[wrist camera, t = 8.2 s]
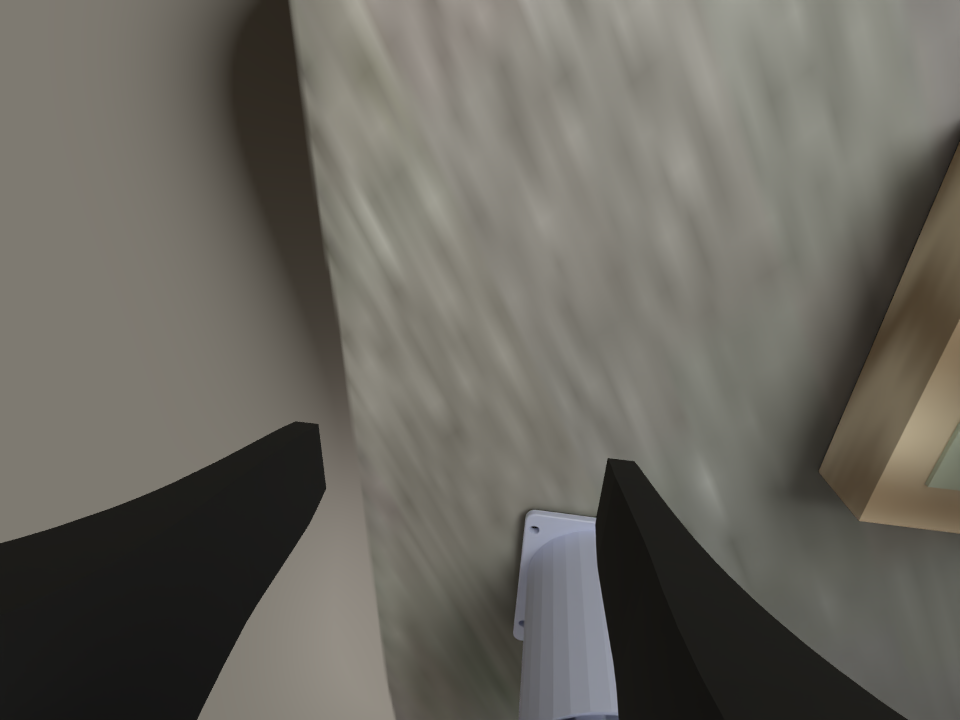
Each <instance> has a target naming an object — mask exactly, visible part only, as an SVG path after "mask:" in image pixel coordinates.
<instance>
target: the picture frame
mask: <svg viewBox="0 0 960 720" xmlns="http://www.w3.org/2000/svg"><path fill="white" fill-rule="evenodd" d="M818 472H819V473H820V474H821V476H822V477H823V478H824V479H825V480H826V482H827V483H828V484H829V485H830V486H831V488H832V489H833V490H834V491H835V493H836V494H837V495H838V496H839V497H840V499H841V500H842V501H843V502H844V504H845V505H846V506H847V507H848V508H849V510H850V511H851V512H852V513H853V514H854V516H855V517H856V518H857V519H858V521H864V522H872V523H880V524H888V525H896V526H904V527H912V528H920V529H928V530H936V531H944V532H952V533H960V142H959V145H958V147H957V149H956V152H955V154H954V156H953V159H952V161H951V163H950V166H949V168H948V170H947V173H946V175H945V177H944V180H943V182H942V184H941V187H940V189H939V191H938V194H937V196H936V198H935V201H934V203H933V205H932V208H931V210H930V212H929V215H928V217H927V219H926V222H925V224H924V226H923V229H922V231H921V233H920V236H919V238H918V240H917V243H916V245H915V247H914V250H913V252H912V254H911V257H910V259H909V261H908V264H907V266H906V268H905V271H904V273H903V275H902V278H901V280H900V282H899V285H898V287H897V289H896V292H895V294H894V296H893V299H892V301H891V303H890V306H889V308H888V310H887V313H886V315H885V317H884V320H883V322H882V324H881V327H880V329H879V331H878V334H877V336H876V338H875V341H874V343H873V345H872V348H871V350H870V352H869V355H868V357H867V359H866V362H865V364H864V366H863V369H862V371H861V373H860V376H859V378H858V380H857V383H856V385H855V387H854V390H853V392H852V394H851V397H850V399H849V401H848V404H847V406H846V408H845V411H844V413H843V415H842V418H841V420H840V422H839V425H838V427H837V429H836V432H835V434H834V436H833V439H832V441H831V443H830V446H829V448H828V450H827V453H826V455H825V457H824V460H823V462H822V464H821V467H820V469H819V471H818Z"/></svg>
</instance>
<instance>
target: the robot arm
mask: <svg viewBox="0 0 960 720" xmlns="http://www.w3.org/2000/svg"><path fill="white" fill-rule="evenodd" d="M325 490H326V483H325V475H324V467H323V459H322V450H321V443H320V434H319V426H318V424H313V423H304V422H293V423H291V424H289V425H287V426H284V427H282V428H280V429H278V430H276V431H274V432H272V433H271V434H269V435H267V436H265V437H263V438H261V439H259V440H257V441H255V442H253V443H252V444H250V445H248V446H246V447H244V448H242V449H240V450H238V451H236V452H235V453H233V454H231V455H229V456H227V457H225V458H223V459H221V460H219V461H217V462H215V463H213V464H211V465H209V466H207V467H205V468H203V469H201V470H199V471H197V472H194V473H192V474H190V475H189V476H186V477H184V478H182V479H180V480H178V481H176V482H174V483H172V484H169V485H167V486H165V487H163V488H160V489H158V490H156V491H153V492H151V493H149V494H146V495H144V496H141V497H139V498H136V499H134V500H131V501H129V502H126V503H124V504H121V505H119V506H116V507H113V508H110V509H108V510H105V511H102V512H99V513H96V514H93V515H90V516H87V517H84V518H81V519H78V520H75V521H73V522H70V523H67V524H64V525H61V526H58V527H55V528H52V529H49V530H45V531H42V532H39V533H35V534H32V535H28V536H25V537H22V538H18V539H15V540H11V541H7V542H4V543H0V720H197V719H198V716H199V714H200V712H201V710H202V708H203V706H204V704H205V702H206V700H207V698H208V696H209V694H210V692H211V690H212V688H213V686H214V684H215V682H216V680H217V678H218V676H219V674H220V672H221V670H222V668H223V666H224V664H225V662H226V660H227V658H228V656H229V654H230V652H231V650H232V649H233V647H234V645H235V643H236V641H237V639H238V637H239V635H240V633H241V631H242V629H243V628H244V626H245V624H246V622H247V620H248V619H249V617H250V615H251V614H252V612H253V610H254V609H255V607H256V605H257V604H258V602H259V601H260V599H261V598H262V596H263V595H264V593H265V592H266V590H267V588H268V587H269V585H270V584H271V582H272V580H273V579H274V578H275V576H276V575H277V573H278V572H279V570H280V569H281V567H282V566H283V564H284V562H285V561H286V559H287V558H288V556H289V554H290V553H291V552H292V550H293V549H294V547H295V546H296V544H297V542H298V541H299V539H300V538H301V536H302V535H303V533H304V532H305V530H306V528H307V526H308V525H309V524H310V521H311V519H312V517H313V515H314V513H315V511H316V509H317V507H318V505H319V503H320V501H321V499H322V496H323V494H324V492H325ZM532 526H536V527H538V528H532ZM513 636H514V637H515V638H516V639H518V640H521V641H523V654H522V670H521V687H520V704H519V720H908V719H906V718H905V717H903V716H902V715H900V714H899V713H897V712H896V711H894V710H893V709H891V708H890V707H888V706H887V705H885V704H884V703H883V702H881V701H880V700H878V699H877V698H876V697H874V696H873V695H872V694H870V693H869V692H867V691H866V690H865V689H863V688H862V687H861V686H859V685H858V684H857V683H855V682H854V681H853V680H851V679H850V678H849V677H847V676H846V675H845V674H843V673H842V672H841V671H839V670H838V669H836V668H835V667H834V666H833V665H831V664H830V663H829V662H827V661H826V660H825V659H824V658H822V657H821V656H820V655H819V654H817V653H816V652H815V651H813V650H812V649H811V648H810V647H808V646H807V645H806V644H805V643H804V642H802V641H801V640H800V639H799V638H798V637H796V636H795V635H794V634H793V633H792V632H790V631H789V630H788V629H787V628H786V627H785V626H783V625H782V624H781V623H780V622H779V621H777V620H776V619H775V618H774V617H773V616H772V615H770V614H769V613H768V612H767V611H766V610H765V609H764V608H763V607H761V606H760V605H759V604H758V603H757V602H756V601H755V600H754V599H753V598H752V597H751V596H750V595H749V594H748V593H747V592H745V591H744V590H743V589H742V588H741V587H740V586H739V585H738V584H737V583H736V582H735V581H734V580H733V579H732V578H731V577H730V576H729V575H728V574H727V573H726V572H725V571H724V570H723V569H722V568H721V567H720V566H719V565H718V564H717V563H716V562H715V561H714V560H713V559H712V558H711V556H710V555H709V554H708V553H707V552H706V551H705V550H704V549H703V548H702V547H701V545H700V544H699V543H698V542H697V541H696V540H695V539H694V538H693V536H692V535H691V534H690V533H689V532H688V530H687V529H686V528H685V527H684V525H683V524H682V523H681V522H680V521H679V519H678V518H677V517H676V516H675V514H674V513H673V512H672V511H671V509H670V508H669V507H668V506H667V504H666V503H665V502H664V500H663V499H662V498H661V496H660V495H659V494H658V492H657V491H656V490H655V488H654V487H653V486H652V484H651V483H650V482H649V480H648V479H647V477H646V476H645V475H644V473H643V472H642V471H641V469H640V468H639V467H638V465H637V464H636V463H635V462H634V461H627V460H618V459H610V458H608V460H607V465H606V470H605V476H604V481H603V486H602V491H601V497H600V502H599V507H598V512H597V517H596V518H594V517H587V516H579V515H572V514H564V513H556V512H549V511H541V510H531V511H529V512H528V513H527V514H526V517H525V526H524V535H523V544H522V554H521V563H520V572H519V581H518V591H517V600H516V609H515V618H514V628H513Z"/></svg>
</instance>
